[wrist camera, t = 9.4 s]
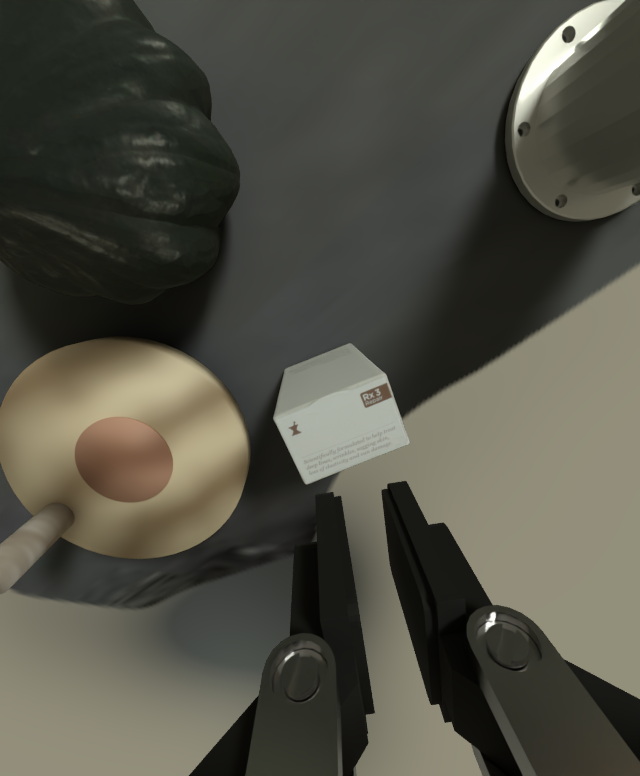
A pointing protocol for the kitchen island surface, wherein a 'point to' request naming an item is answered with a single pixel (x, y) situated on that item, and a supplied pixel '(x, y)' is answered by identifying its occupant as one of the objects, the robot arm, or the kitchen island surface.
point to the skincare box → (337, 413)
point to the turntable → (119, 452)
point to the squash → (106, 153)
